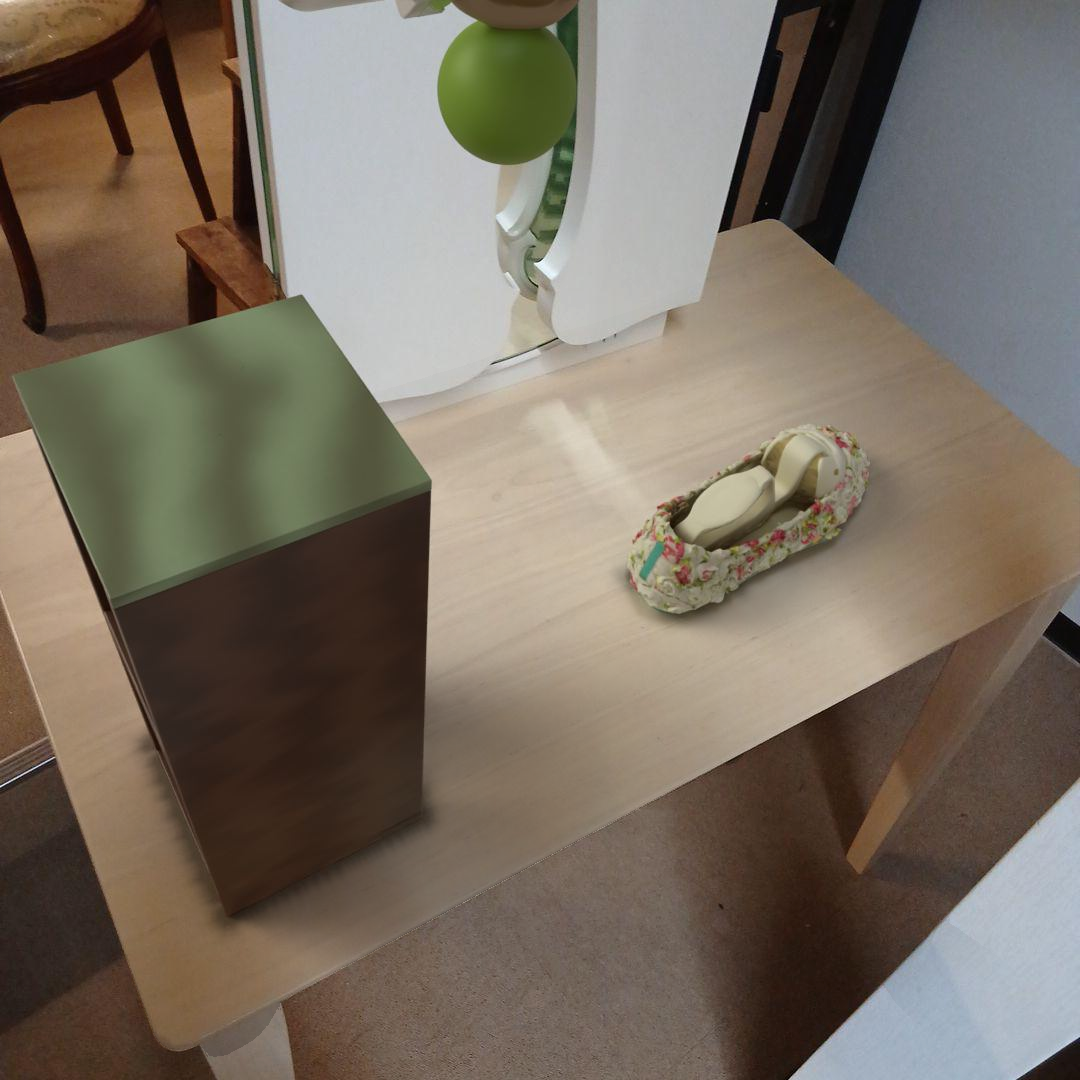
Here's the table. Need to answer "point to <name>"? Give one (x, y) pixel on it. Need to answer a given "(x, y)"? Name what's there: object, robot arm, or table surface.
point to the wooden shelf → (253, 580)
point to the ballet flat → (748, 517)
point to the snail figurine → (508, 80)
